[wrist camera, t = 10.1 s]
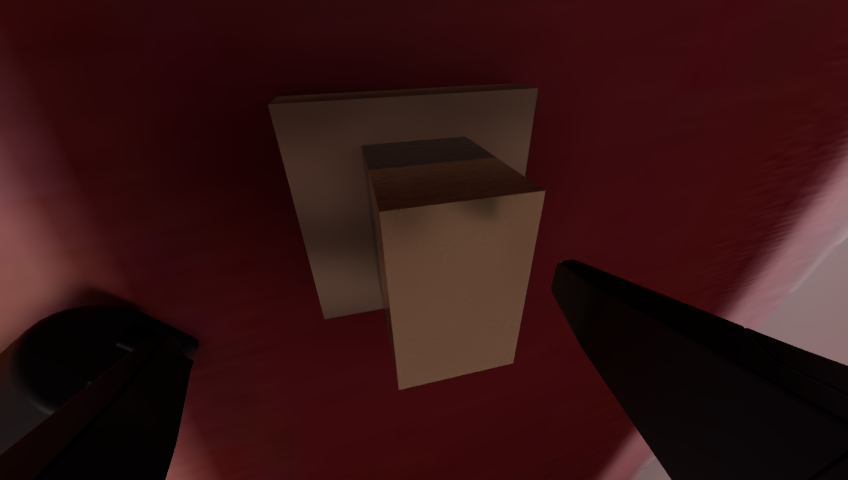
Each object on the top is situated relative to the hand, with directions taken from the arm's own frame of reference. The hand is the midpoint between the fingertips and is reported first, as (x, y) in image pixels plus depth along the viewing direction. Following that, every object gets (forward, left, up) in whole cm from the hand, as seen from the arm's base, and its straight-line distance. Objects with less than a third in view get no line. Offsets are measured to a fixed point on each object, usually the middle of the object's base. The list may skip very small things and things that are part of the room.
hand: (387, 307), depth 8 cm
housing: (+3, +3, -9) cm, 10 cm away
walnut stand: (+3, +3, -12) cm, 12 cm away
